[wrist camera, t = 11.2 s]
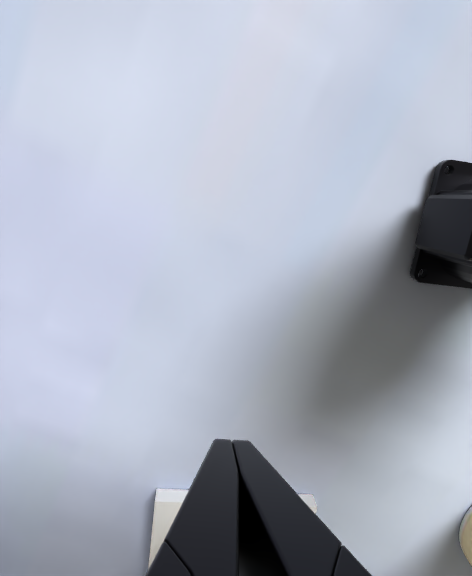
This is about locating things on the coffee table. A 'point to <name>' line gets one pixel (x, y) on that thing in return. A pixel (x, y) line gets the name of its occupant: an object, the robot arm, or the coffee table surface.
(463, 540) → the coffee cup
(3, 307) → the coffee table surface
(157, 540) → the baseplate
